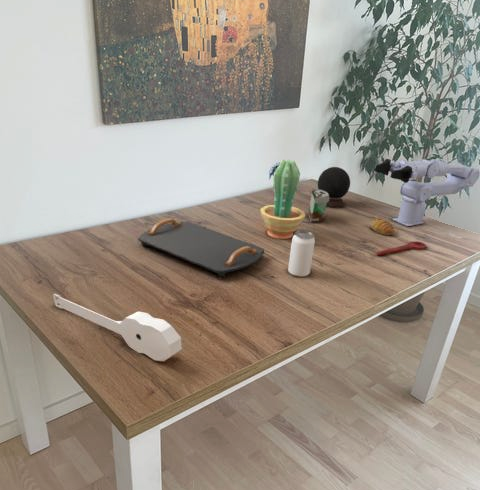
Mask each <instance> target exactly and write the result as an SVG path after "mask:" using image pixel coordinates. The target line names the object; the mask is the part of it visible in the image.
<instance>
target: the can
mask: <svg viewBox="0 0 480 490" xmlns="http://www.w3.org/2000/svg"><path fill="white" fill-rule="evenodd" d="M291 238H292V239H291V246H290V252H289V259H288V266H287V271H288V273H289V274H290V275H292V276H293V277H300V278H303V277H307V276H309V275H310V274H311V268H312V262H313V256H314V249H315V243H316V240H315V234H314V233H313V232H311V231H308V230H297V231H296V230H295V231H294V234H293V236H292V237H291Z"/></svg>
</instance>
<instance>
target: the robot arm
mask: <svg viewBox="0 0 480 490" xmlns="http://www.w3.org/2000/svg"><path fill="white" fill-rule="evenodd" d="M391 161H392V159H390V158H386V159H384V160H383V162H381V163H379V164H376V165H375V167H374V172H375V173H379V174H383V175H384V176H389V173H391V174H390V176H389V178H391V179H394V180H398V181H399V180H400V181H401V182H402V183H401V185H400V187H399V194H400V195H401V199H402V200H401V204H400V207H399V211H398V216H397V217H394V218H392V221H394V222H397V223H399V224H401V225H403V226H405V227H413V226H417V225H422V224H424V221H423V220H424V216H425V213H426V208H427V203H426V201H427V200H430V199H431V198H432V197H437V196H447V195H448V196H449V195H456V194H458V193H459V192H461V191H462V190H464V189H467V188H471V187H474V185H475V184H476V183H477V181H478V180H479V178H480V170H479V169H478V168H475V167H471V166H469V165H465V164H462V163H458V162H453V163H448V162H447V161H446V160H445V159H442V158H439V159H438V160H436V159H430V160H428V159H425V158H424V159H423V158H420V159H418V160H416V161H415V160H413V161H407V159H405V158H401V159H400V161H394V162H393V161H392V162H391ZM446 174H448V175H447V176H446ZM443 176H446V179H445V181H430V182H421V181H420V182H419V181H414V180H416V179H417V178H421V177H424V178H426V179H427V178H428V179H433V178H435V177H443Z"/></svg>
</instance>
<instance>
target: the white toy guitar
mask: <svg viewBox="0 0 480 490" xmlns="http://www.w3.org/2000/svg"><path fill="white" fill-rule="evenodd" d="M52 297H53V301H54V305H55V307H57V308H59V309H60V310H61V309H62V310H66V311H68V312H70V313H72V314H74V315H77V316H79V317H81V318H82V319H86V320H87V321H90V322H91V323H94V324H96V325H99V326H101V327H103V328H105V329H108V330H110V331H111V332H114V333H116V334H118V335H121V337H122V338H123V340H124V341H125V343H126V344H127V346H128V347H129V348H130V349H132V350H133V351H135V352H136V353H138V354H144V355H146V356H147V357H149V358H150V359H152V360H153V361H156V362H165V361H167V360H168V359H170V358H171V357H173V356H174V355H176V354H177V353H178V352H180V351H182V350H183V349H182V347H183V346H182V337H181V336H180V334H179V333H178V332H177V331H176V329H175V328H174V327H173V326H172V325H171V324H170V323H169V322H168V321H166V319H162V318H157V317H153V316H152V315H150V314H149V313H148V312H143V311H136V312H134V313H132V314H130V315H128V316H126V317H125V318H124V319H123V320H114V319H112V318H109V317H107V316H105V315H102V314H100V313H98V312H95V311H93V310H91V309H90V308H89V309H88V308H86V307H84V306H82V305H80V304H78V303H75V302H72V301H70V300H68V299H65V298H63V297H61V295H59V294H56V293H53V295H52Z"/></svg>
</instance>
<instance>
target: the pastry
mask: <svg viewBox="0 0 480 490" xmlns="http://www.w3.org/2000/svg"><path fill="white" fill-rule="evenodd" d="M370 228H371V229H372V230H373V231H375V232H377V233H378V234H381V235H386V236H390V235H393V234H394V233H395V231H396V230H395V228H394V226H393V225H392V224H391V223H390V222H389V221H387V220H385V219H382V218H380V217H377V218H375V219H373V220H372V221H371V222H370Z"/></svg>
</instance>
